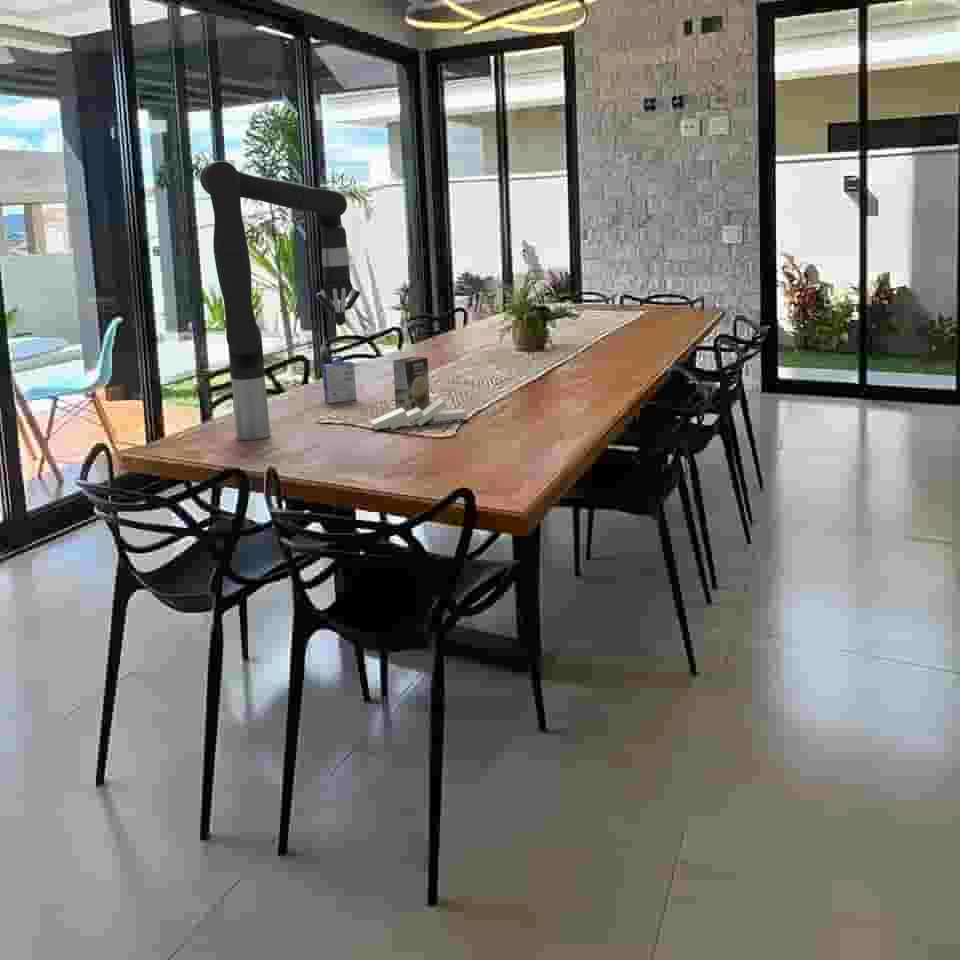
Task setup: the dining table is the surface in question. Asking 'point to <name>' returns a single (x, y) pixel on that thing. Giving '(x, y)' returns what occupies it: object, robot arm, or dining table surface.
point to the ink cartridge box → (339, 381)
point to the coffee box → (411, 383)
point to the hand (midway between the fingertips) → (340, 325)
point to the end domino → (440, 421)
